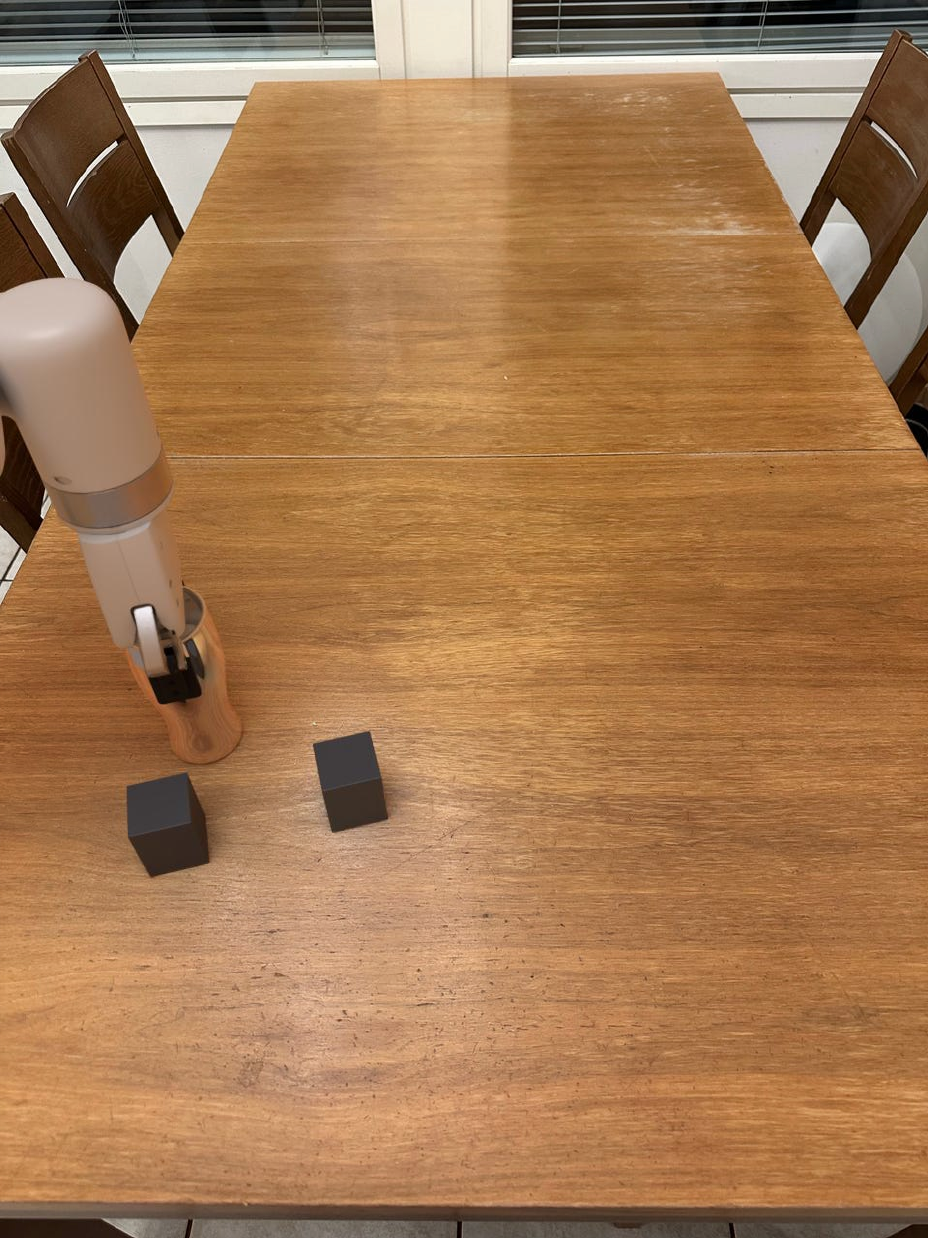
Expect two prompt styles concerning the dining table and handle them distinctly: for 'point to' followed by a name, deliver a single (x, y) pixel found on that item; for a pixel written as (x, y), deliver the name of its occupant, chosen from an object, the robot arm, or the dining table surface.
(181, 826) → the block left
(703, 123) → the dining table surface
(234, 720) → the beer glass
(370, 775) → the block right
